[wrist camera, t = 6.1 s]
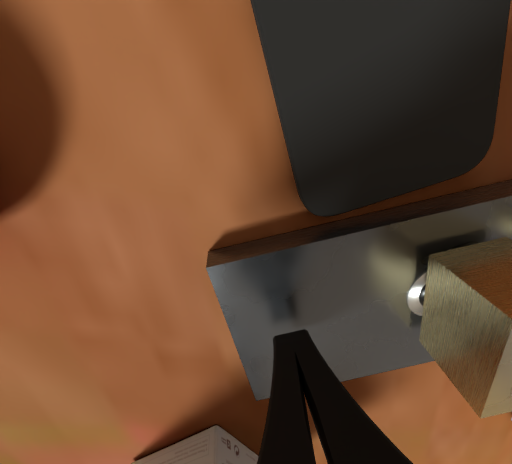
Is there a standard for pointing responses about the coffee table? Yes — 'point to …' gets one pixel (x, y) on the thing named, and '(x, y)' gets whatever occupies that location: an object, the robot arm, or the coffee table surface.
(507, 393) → the wooden block
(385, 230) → the plate
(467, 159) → the phone
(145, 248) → the coffee table surface
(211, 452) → the supplement box
